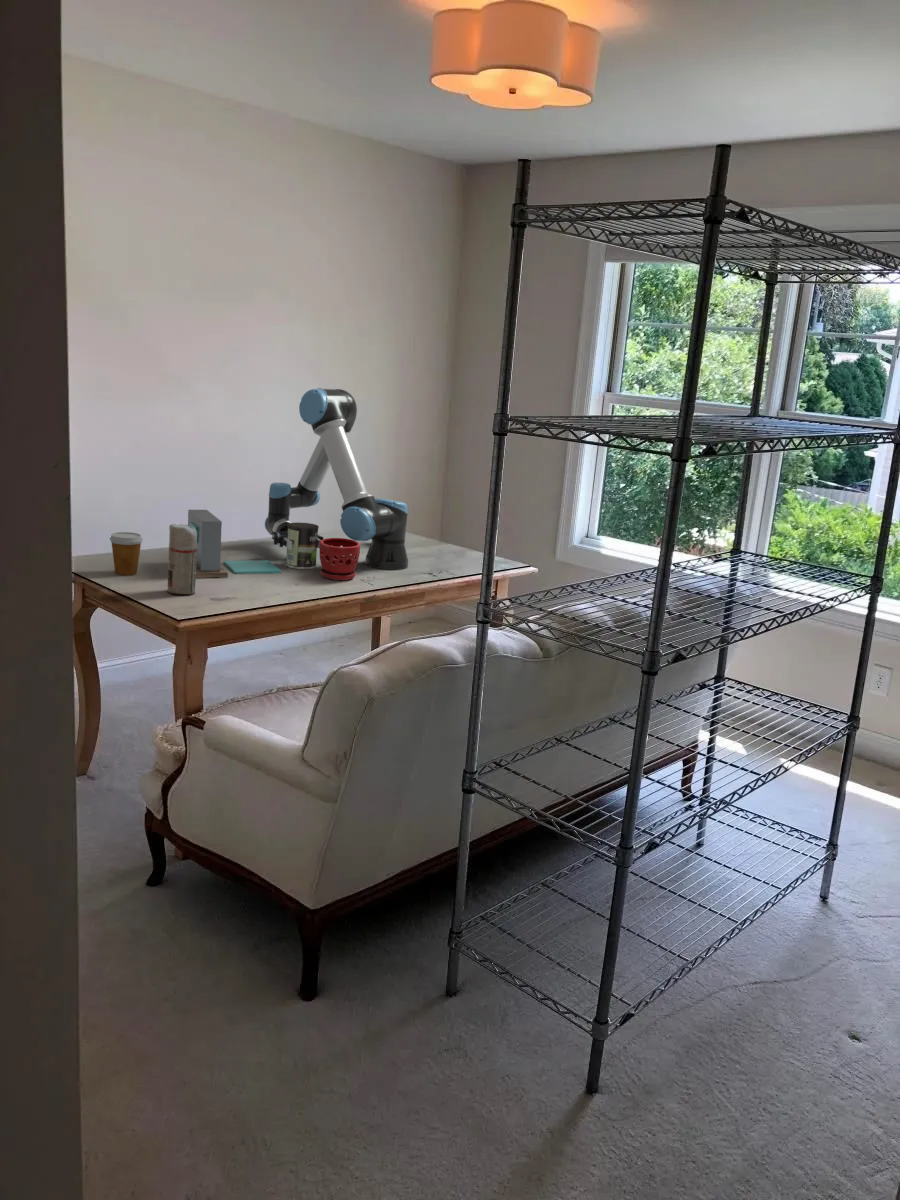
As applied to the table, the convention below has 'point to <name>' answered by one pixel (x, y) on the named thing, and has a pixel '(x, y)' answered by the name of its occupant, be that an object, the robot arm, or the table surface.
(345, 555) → the plant pot
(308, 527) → the coffee can
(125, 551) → the disposable coffee cup
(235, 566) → the pad
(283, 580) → the table surface
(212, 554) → the mounted unit
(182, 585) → the spray can
